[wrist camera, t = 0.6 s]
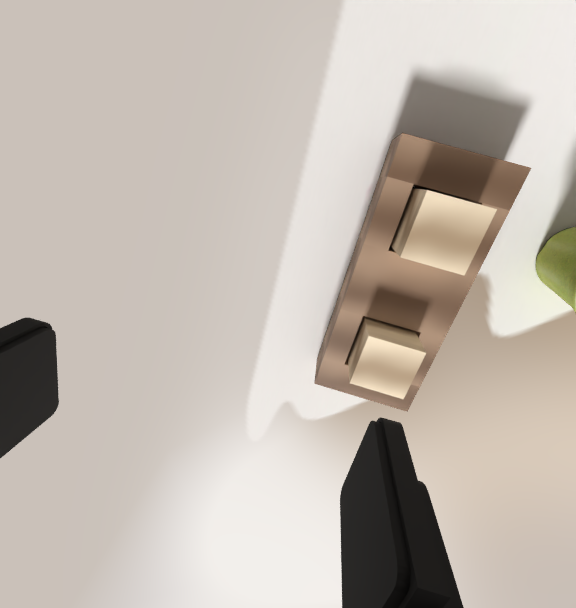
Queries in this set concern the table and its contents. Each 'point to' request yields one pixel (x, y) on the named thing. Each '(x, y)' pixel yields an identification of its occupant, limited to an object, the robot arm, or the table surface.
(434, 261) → the peg near
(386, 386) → the peg far
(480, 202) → the peg board
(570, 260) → the plant pot
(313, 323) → the table surface
